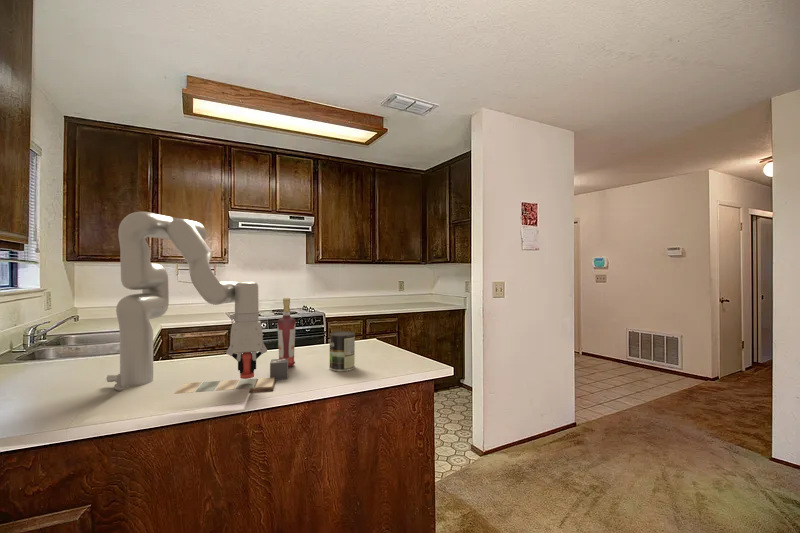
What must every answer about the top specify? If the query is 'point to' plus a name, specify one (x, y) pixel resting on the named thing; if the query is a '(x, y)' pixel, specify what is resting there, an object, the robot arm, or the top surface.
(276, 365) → the die
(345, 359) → the coffee can
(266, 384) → the board
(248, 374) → the pawn
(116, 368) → the top surface
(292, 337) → the liquor
